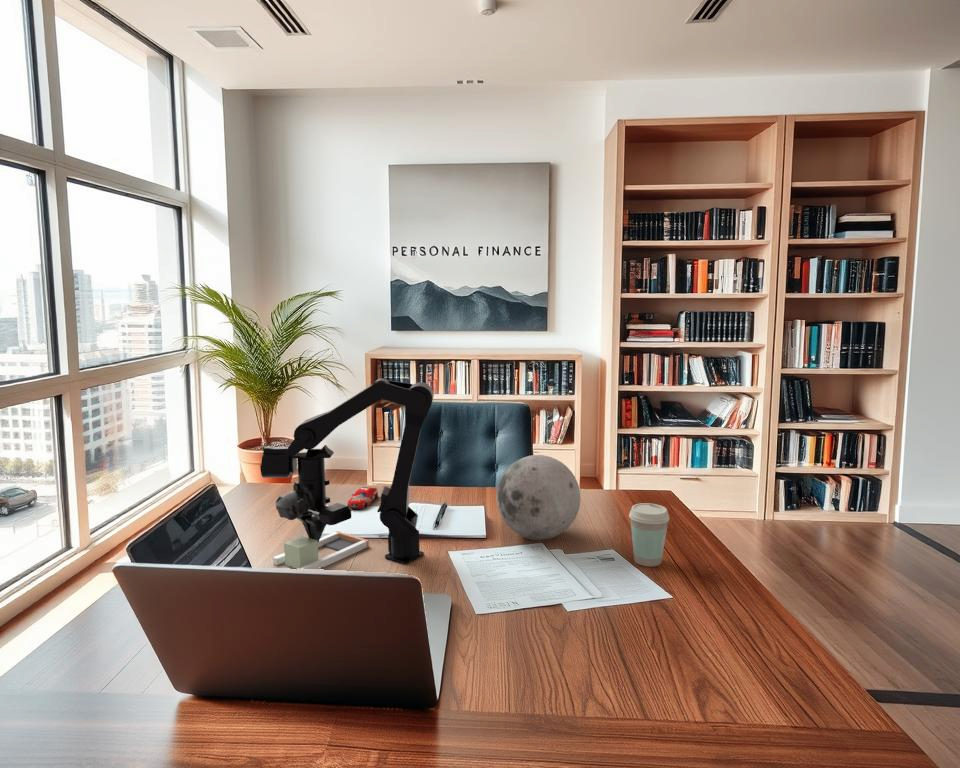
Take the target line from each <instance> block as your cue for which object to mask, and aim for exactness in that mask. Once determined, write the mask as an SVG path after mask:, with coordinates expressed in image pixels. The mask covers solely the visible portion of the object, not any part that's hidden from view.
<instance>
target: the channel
mask: <svg viewBox="0 0 960 768" xmlns="http://www.w3.org/2000/svg"><path fill="white" fill-rule="evenodd" d="M336 532H337V531H335V532H332V533H330V534H326V535H325V536H323V537H322V536H321V537H320V540H319V542H318V549H319V548H322V547H324V546H323V545H324V544H327V543H329V542H331V541H334V540H336V539H338V538H339V533H336ZM364 549H367V548H366V541H363V540H362V541H360V542H358V543H355V544H353V545H351V546H348V547H346V548H344V549H342V550H339V551H337V550H336V551H335V552H333V553H331V554H328V555H326V556H324V557H321V558H320V559H319V558H318V560H317V561H315V562H312V563H310V564H308V565H306V566H303V567H301V568H304V569H319V570H320V569H322V568H319V567H323V568H325V567H327V566H329V565H331V564H333V563H336V562H338V561H340V560H342V559H344V558H347V557H349V556H351V555H353V554H355V553H358V552H360V551H362V550H364ZM272 560H273V565H274V566H275V565H276V566H278V565H281V564H283V563H285V552H283V553H281V554H278V555H276V556H273V557H272Z"/></svg>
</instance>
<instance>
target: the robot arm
mask: <svg viewBox="0 0 960 768" xmlns="http://www.w3.org/2000/svg"><path fill="white" fill-rule="evenodd" d="M434 395H435V394H434V389H433V388H432V387H431V386H430V385H429V384H428V383H426V382H423V381H422V382H421V381H418V382H415V383H409V382H401V381H395V380H390V379H386V378H379V379H376V380H375V381H374V382H373V383H372V384H370V385H369V386H367V387H365V388H363V390H360V391H359V392H358V393H356V394H354V395H353V396H351V397H350V398H348V399H347V400H345V401H344V402H342V403H341V404H339V405H337V406H336V407H334V408H333V409H331V410H328V411H325V412H323V413H320V414H317V415H315V416H312V417H310V418H307V419H305V420H303V422H301V423H300V424H299V425H298V426H297V427H295V429H294V433H293V440H292V442H291V443H290V444H288V446H272V445H268V446H267V445H266V446H265V447H263V449H262V450H263V451H262V452H263V454H262V456H261V462H260V463H261V464H260V466H259V467H260V468H259V469H260V474H261V475H260V476H262V478H265V479H267V478H268V479H270V478H272V479H273V478H274V479H275V478H276V479H278V478H282V479H283V478H291V476H292V475H293V474H294V473H296V472H297V478H298V481H296V482H294V483H293V490H292V491H291V492H289V493H286V494H284V495H280V496H278V498H277V499H276V501H275V507H276V508H275V509H276V511H277V513H278V515H279V517H280V518H284V519H287V520H289V521H294V520H296V519H297V520H298V521H300V522H301V523H302V525H303V527H304V529H305V532H306V534H307V537H308V538H311V539H314V540H317V541H318V542H319V540H320V538H322V535H323V533H324V531H325V528H326V526H327V525H328V526H335V525H338V524H339V523H343V522H345V521H347V520H350V519H352V509H351V508H350V507H349V506H348V505H345V504H342V503H339V502H337V503H333V504H330V503H331V497H328V496H327V493H326V492H327V490H326V489H327V488H326V486H329V485H330V479H327V478H326V469H325V467H326V465H325V462H326V461H325V459H330V458H332V456H333V455H334V453H335V452H334V451H333V450H332V449H331V448H329V447H328V445H326V444H324V446H322V447H321V448H316V447H317V446H318V445H319V444H321V443H322V442H323V441H324V440H325V439H326V438H327V437H329V435H330V434H331V433H333V432H334V431H335V430H336V429H337V428H338V427H339V426H341V425H342V424H344V423H345V422H347V421H348V420H350V419H352V418H353V417H355V416H356V415H358V414H360V413H361V412H363V411H365V410H366V409H367V408H369V407H371V406H372V405H375V404H376V403H377V402H379V401H380V400H385V401H387V402H388V401H389V402H391V403H394V404H397V405H401V406H404V428H403V432H402V437H401V442H400V446H399V450H398V456H397V460H396V465H395V469H394V473H393V478H392V483H391V485H390V487H388V486H384V487H383V490H382V492H381V494H380V504H379V506H378V508H377V511H376V512H377V513H379V519H380V522H381V523H382V525H383V526H385V527H386V528H387V530H388V534H387V544H388V547H387V549H388V553H386V554H385V555H384V558H385V559H388V560H391V561H394V562H398V563H401V564H405V565H407V564H409V563H410V562H413V561H415V560H416V559H418V558H420V557H423V556H424V555H425V552H424V551H421V550H420V530H419V529H417V522H418V517H419V515H418V513H416V511H415V510H413V509H412V508H411V507H410V506H409V502H410V501H409V500H410V480H411V475H412V471H413V466H414V462H415V458H416V455H417V449H418V445H419V440H420V435H421V431H422V427H423V426H424V424H425V420H426V418H427V415H429V414H428V413H429V411H430V409H431V406H432V403H433V400H434ZM303 450H306V451H305V452H302V451H303ZM328 503H329V504H330V505H328Z"/></svg>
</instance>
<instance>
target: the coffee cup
mask: <svg viewBox="0 0 960 768" xmlns="http://www.w3.org/2000/svg"><path fill="white" fill-rule="evenodd" d="M628 517H629V518H630V527H631V528H630V530H631V541H632V550H633V560H634V562H635V564H637V565H641V566H643V567H657V566H660V565H661V564H662V560H663V555H664V548H665V542H666V535H667V530H668V523H669V521H670V514H669V512H668V509H667V507H666V506H663V505H661V504H656V503H652V502H651V503H649V502H647V503H646V502H643V503H636V504H634V505H632V506H631V509H630V511H629V514H628Z"/></svg>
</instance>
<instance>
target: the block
mask: <svg viewBox="0 0 960 768" xmlns="http://www.w3.org/2000/svg"><path fill="white" fill-rule="evenodd" d="M283 544H284V545H283V547H284V553H285V562H284V563H285V566H288V567H290V568H293V569H295V568H301V567H303V566H306V565H308V564H310V563H312V562H315V561H317V560H319V548H318V541H317V540H314V539H311V538H309V537H308V536H304V535H301V536H299V537H296V538H294V539H291V540H288V541H286V542H284V543H283ZM291 566H293V567H291Z"/></svg>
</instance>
